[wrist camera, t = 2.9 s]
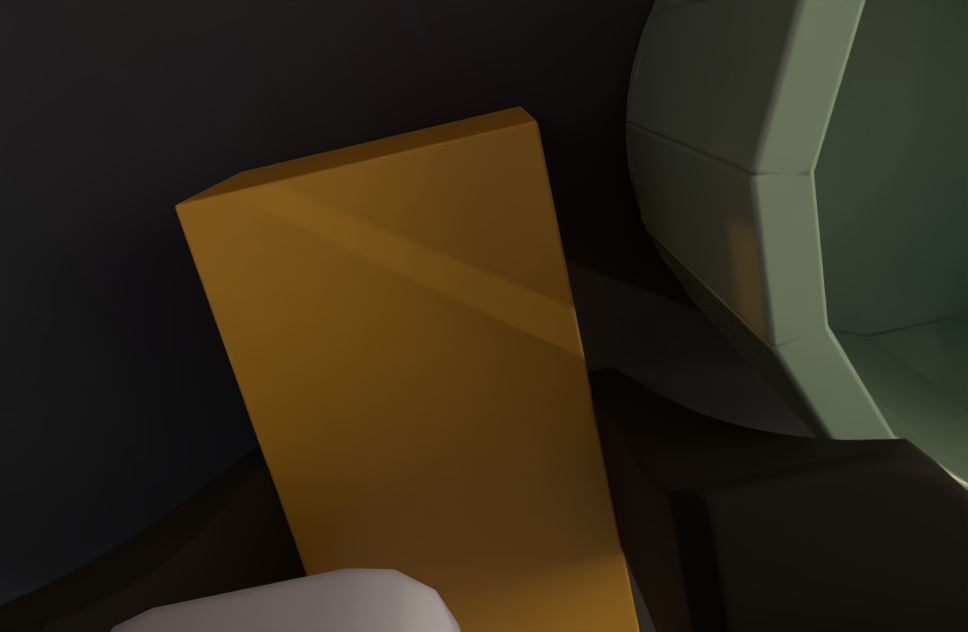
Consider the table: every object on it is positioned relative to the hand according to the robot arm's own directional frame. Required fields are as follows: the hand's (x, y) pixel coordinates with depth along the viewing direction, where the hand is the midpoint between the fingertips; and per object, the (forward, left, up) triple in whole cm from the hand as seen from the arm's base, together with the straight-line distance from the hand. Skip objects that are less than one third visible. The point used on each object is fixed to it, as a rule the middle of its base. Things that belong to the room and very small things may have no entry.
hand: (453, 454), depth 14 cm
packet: (0, 0, -2) cm, 2 cm away
